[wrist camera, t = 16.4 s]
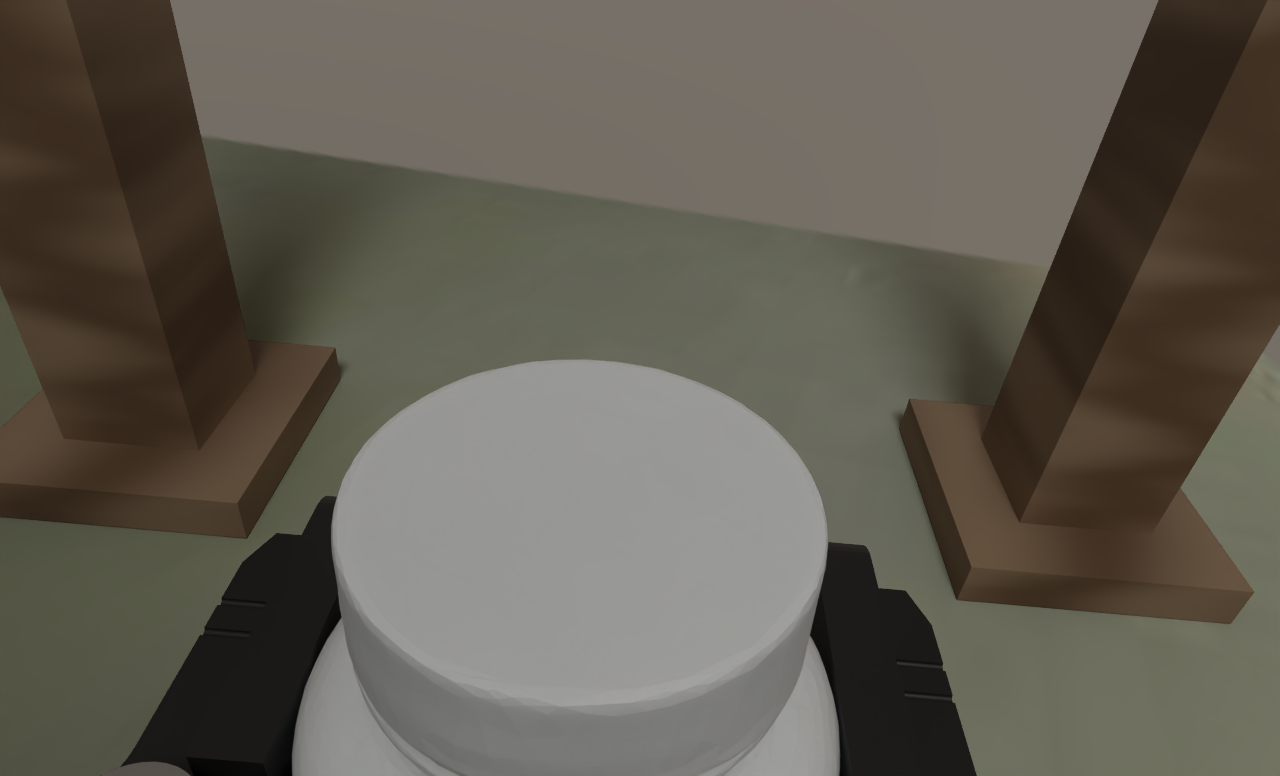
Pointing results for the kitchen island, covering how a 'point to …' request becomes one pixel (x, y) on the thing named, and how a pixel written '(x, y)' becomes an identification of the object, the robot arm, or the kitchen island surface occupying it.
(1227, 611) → the walnut post
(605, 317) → the kitchen island surface
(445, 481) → the pill bottle
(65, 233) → the walnut post
